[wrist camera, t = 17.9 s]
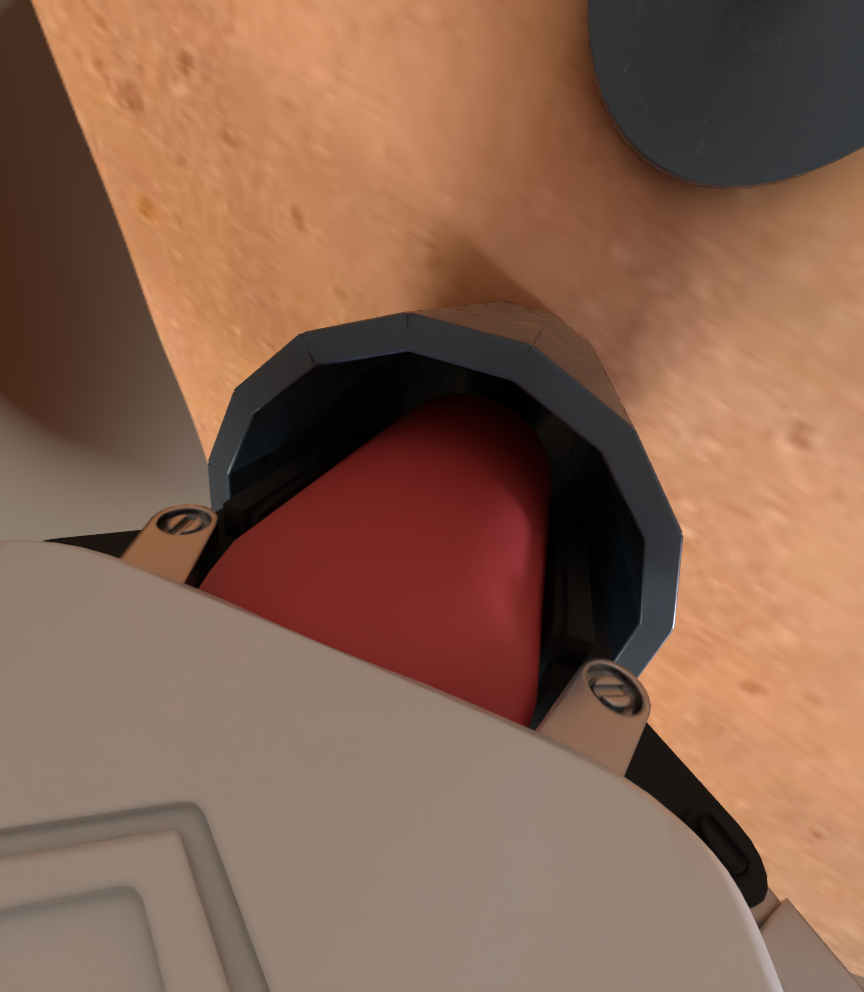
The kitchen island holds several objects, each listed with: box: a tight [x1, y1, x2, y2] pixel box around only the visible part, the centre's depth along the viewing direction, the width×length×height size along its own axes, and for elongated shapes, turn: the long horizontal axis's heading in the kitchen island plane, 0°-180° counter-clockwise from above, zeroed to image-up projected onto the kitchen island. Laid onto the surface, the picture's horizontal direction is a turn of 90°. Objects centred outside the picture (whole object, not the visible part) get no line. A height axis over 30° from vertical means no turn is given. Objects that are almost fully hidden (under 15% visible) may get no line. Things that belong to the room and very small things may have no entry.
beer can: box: [199, 393, 552, 728], centre depth 11 cm, size 7×7×12 cm
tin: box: [208, 301, 683, 678], centre depth 16 cm, size 12×12×14 cm
